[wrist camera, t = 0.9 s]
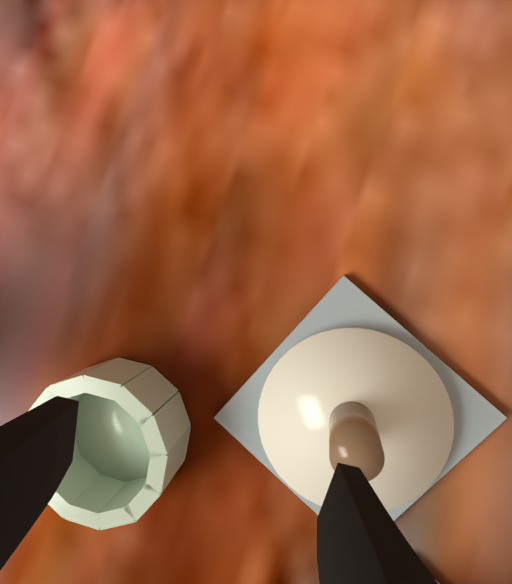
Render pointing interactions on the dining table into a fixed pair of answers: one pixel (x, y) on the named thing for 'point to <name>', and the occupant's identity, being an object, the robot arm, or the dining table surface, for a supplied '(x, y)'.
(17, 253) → the dining table surface
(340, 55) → the dining table surface
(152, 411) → the bowl
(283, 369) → the lid
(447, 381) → the mat
